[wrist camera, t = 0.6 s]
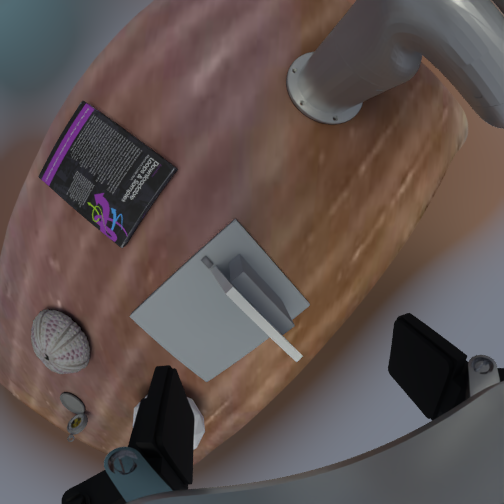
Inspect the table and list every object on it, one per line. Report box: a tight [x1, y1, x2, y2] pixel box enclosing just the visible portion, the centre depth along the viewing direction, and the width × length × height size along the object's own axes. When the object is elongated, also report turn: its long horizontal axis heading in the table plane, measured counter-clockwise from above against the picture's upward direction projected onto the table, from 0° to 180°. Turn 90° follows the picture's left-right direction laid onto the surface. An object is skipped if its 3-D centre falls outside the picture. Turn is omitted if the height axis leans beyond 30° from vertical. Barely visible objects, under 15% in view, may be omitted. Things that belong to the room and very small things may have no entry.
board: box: [130, 219, 310, 382], centre depth 38 cm, size 23×18×9 cm
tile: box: [210, 266, 303, 362], centre depth 34 cm, size 13×12×1 cm
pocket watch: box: [60, 393, 88, 442], centre depth 41 cm, size 8×8×10 cm
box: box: [39, 101, 178, 248], centre depth 34 cm, size 14×4×20 cm
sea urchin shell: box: [31, 309, 90, 374], centre depth 37 cm, size 13×14×8 cm
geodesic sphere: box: [133, 395, 205, 449], centre depth 40 cm, size 14×14×14 cm
